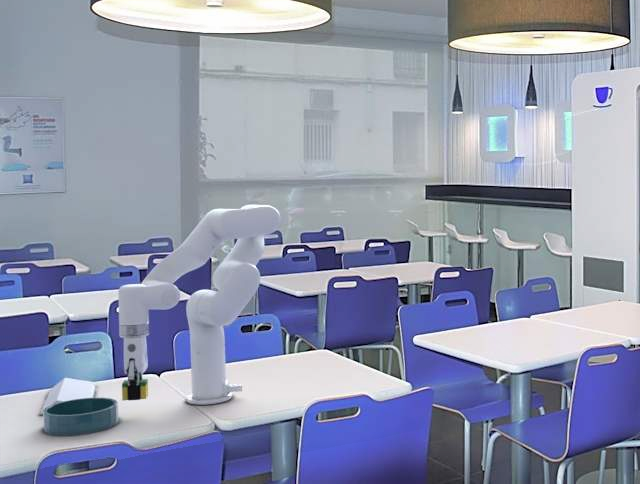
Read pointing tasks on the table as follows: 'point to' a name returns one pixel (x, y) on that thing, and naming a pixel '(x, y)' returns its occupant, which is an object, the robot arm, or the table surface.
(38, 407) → the table surface
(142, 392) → the sponge
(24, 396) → the table surface
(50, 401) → the crown molding
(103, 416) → the bowl
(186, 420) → the table surface
